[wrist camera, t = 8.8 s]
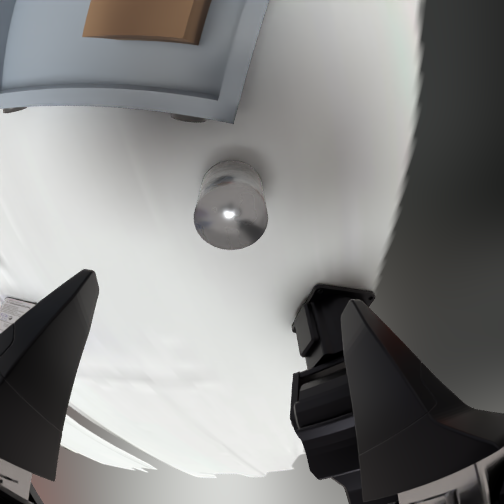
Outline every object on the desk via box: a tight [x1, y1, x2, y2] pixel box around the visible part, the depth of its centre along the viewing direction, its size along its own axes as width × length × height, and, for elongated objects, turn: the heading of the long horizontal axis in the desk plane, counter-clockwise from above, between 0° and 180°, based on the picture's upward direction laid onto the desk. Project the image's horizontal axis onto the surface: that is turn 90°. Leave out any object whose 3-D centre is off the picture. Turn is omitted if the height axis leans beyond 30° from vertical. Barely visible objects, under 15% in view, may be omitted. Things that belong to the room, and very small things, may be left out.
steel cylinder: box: [194, 160, 268, 250], centre depth 17 cm, size 4×4×4 cm
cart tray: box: [0, 0, 269, 124], centre depth 9 cm, size 18×13×3 cm
